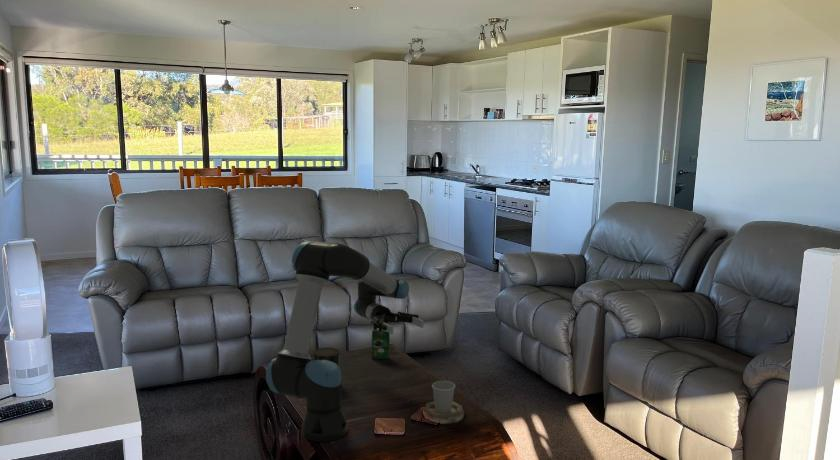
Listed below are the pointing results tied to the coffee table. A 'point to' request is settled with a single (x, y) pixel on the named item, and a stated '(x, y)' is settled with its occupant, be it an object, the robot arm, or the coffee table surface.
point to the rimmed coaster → (453, 417)
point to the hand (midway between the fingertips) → (407, 327)
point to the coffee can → (327, 355)
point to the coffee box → (380, 344)
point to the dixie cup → (443, 396)
